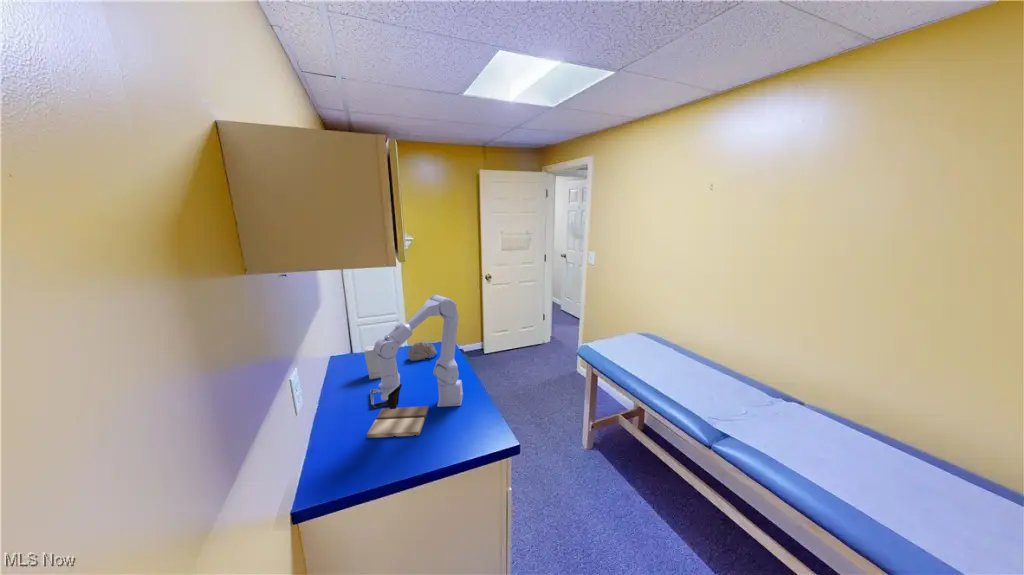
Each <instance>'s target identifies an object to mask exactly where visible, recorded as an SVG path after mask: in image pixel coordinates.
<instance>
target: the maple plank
mask: <svg viewBox="0 0 1024 575" xmlns="http://www.w3.org/2000/svg"><path fill="white" fill-rule="evenodd" d="M425 420H426V419H424V417H423V418H402V419H381V420H377V419H374V421H373V423H372V425H371V427H370V428H369V429H368V431H367V433H366V437H367V439H369V438H370V439H372V438H390V437H391V438H392V437H393V436H396V437H412V436H414V435H416V436H420V434H421V432H422V430H423V426H424V423H425ZM393 438H394V437H393Z"/></svg>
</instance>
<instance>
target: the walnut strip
mask: <svg viewBox="0 0 1024 575" xmlns="http://www.w3.org/2000/svg"><path fill="white" fill-rule="evenodd" d="M428 412H429V406H428V405H426V406H424V405H423V406H405V407H396V409H390V408H389V407H388V408H387V407H384V408H381V410H380V411H379V413H378V415H377V416H376V418H375V420H381V419H402V418H423V417H424V420H426V418H427V416H428Z"/></svg>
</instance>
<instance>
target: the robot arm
mask: <svg viewBox="0 0 1024 575" xmlns="http://www.w3.org/2000/svg"><path fill="white" fill-rule="evenodd" d="M457 305H458V304H457V303H456V302H455V301H454V300H453V299H452V298H448V297H445V296H442V295H439V294H432V295H431V296H430V297H429V298H428V299H426V300H425V302H424V304H423V306H422V307H421V308H419V309H418V310H417V311H416V312H415V313H414V314H413V315H412V316H411V317H410V319H409V320H408V321H406V322H404V323H403V322H401V323H399V324H396V325H395V326H394V328H393V329H392V330H391V332H389V333H388V334H386V335H384V337H382V338H380V339H378V340H377V341H376V342H375V344H374V345H375V346H374V348H373V350H374V352H375V353H377V354H378V363H379V369H380V376H381V378H380V381H381V382H379V384H378V388H381V389H382V392H380V400H381V401H385V402H387V404H388V405H387V406H388V408H390V409H396V408H398V407H397V406H398V405H399V402H400V392H401V388H402V383H401V381H400V379H401V374H400V373H399V372H398V371H399V369H398V364H397V357H396V356H397V354H398V350H399V348H400V347H401V346H402V345H403V344H404V343H406V341H407V340H409V339H410V338H411V337H412V336H413V331H414V329H416V328H417V327H419V326H420V325H421V324H422V323H423V322H425V321H426V320H427V319H428V318H430V317H436V316H437V317H438V316H440V317H441V318H442V319H443V326H442V335H441V346H440V354H439V355H440V356H439V358H437V359H436V360H435V361H436V362H435V366H434V368H433V370H432V372H433V376H434V377H436V379H437V380H436V381H437V389H438V398H439V399H438V401H437V404H436V407H438V408H439V407H440V408H441V407H458V406H459V407H460V406H462V402H463V398H464V392H463V382H462V379H459V375H460V373H459V369H458V368H459V367H458V364H457V362H456V359H455V355H456V354H455V353H456V352H455V351H456V342H457V332H458V324H459V313H458V309H457Z"/></svg>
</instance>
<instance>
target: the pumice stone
mask: <svg viewBox="0 0 1024 575" xmlns="http://www.w3.org/2000/svg"><path fill="white" fill-rule="evenodd" d="M435 354H436V355H437V354H438V352H437V350H436V348H435V345H434V344H433V343H427V342H416V343H413V345H411V346H410V348H409V350H408V352H407V357H408V360H410V361H420V360H426V359H425V358H429V357H432V356H433V355H435ZM436 355H435V356H436ZM432 358H433V357H432Z"/></svg>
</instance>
